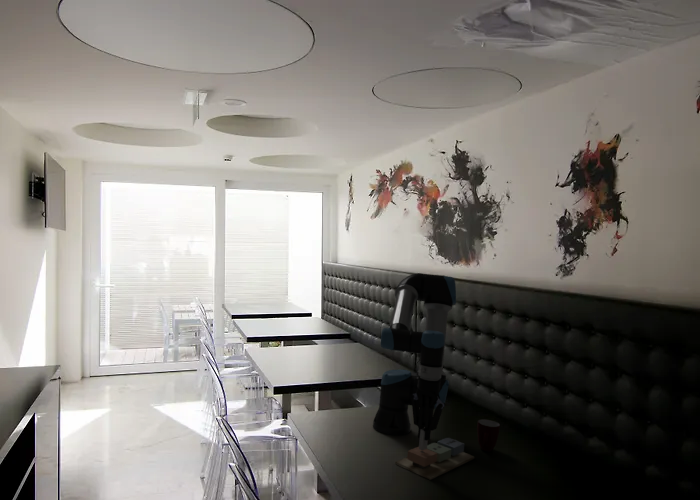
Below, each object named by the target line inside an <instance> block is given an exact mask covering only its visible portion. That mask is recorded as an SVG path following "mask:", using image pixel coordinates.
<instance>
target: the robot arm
mask: <svg viewBox="0 0 700 500" xmlns="http://www.w3.org/2000/svg"><path fill="white" fill-rule="evenodd" d="M394 291H395V292H394V297H395V302H394V305H393V306H394V307H393V310H392V314H391V319H390V323H389V327H383V328H382V329H381V335H380V347H381V348H382V349H384V350H390V351H397V352H404V353H405V352H406V353H413V354H420V355H419V363H418V364H419V365H418V370H417V371H416V375H412V372H411V371H410V370H406V369H398V368H397V369H390V370H386V371H384V372H383V374H382V376H381V381H380V394H379V403H378V409H377V412H376V414H375V416H374V419H373V420H372V421H373V422H372V428H373V429H374V430H376V431H377V432H378V433H379V432H380V433H381V434H385V435H389V436H390V435H391V436H404V435H408V434H410V432H411V427H412V425H411V421H410V416H409V406H411V407H412V416H413V425H415V426H417V428H418V432H417V437H418V438H419V441H418V442H419V443H418V447H419V449H420V450H425V449H427V445H428V441H430V439H431V432H432V431H435V430H436V429H437V428H438V424H439V421H440V418H441V416H442V412H443V409H445V407H446V400H447V395H448V390H449V385H450V380H449V379H447V375H446V373H445V372H444V370H443V369H444V359H445V349H446V337H447V326H448V315H449V312H450V311H451V310H452V309H453V306H454V305H457V289H456V280H455V278H454V277H452V276H448V275H447V276H446V275H441V274H431V273H430V274H429V273H428V274H427V273H422V272H421V273H420V272H419V273H412V274H410V275H408V276H406V277H404V278H403V279H402V280H401V281H400V282H399V283H398V284H397V286H396V287H395V290H394ZM418 301H419V302H423V306H424V308H425V309H426V318H425V327H424V331H423V332H421V331H413V330H411V324H412V318H413V313H414V307H415V303H416V302H418Z"/></svg>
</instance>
